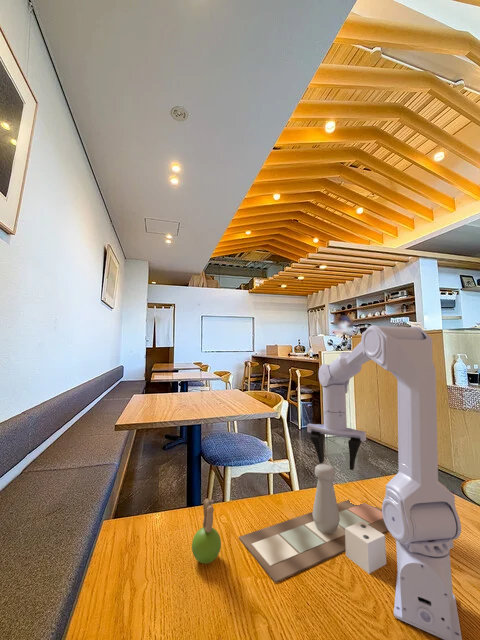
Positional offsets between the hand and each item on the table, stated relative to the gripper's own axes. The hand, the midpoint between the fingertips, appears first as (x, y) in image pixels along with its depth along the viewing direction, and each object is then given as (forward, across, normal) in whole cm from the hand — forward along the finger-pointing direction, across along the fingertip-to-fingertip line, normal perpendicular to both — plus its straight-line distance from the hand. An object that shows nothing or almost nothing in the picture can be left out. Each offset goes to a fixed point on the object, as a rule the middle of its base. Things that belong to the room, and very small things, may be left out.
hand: (336, 465), depth 71 cm
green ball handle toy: (+11, +16, +33) cm, 38 cm away
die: (+10, -9, +15) cm, 20 cm away
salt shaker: (+10, 0, +10) cm, 15 cm away
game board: (+10, 0, +10) cm, 15 cm away
